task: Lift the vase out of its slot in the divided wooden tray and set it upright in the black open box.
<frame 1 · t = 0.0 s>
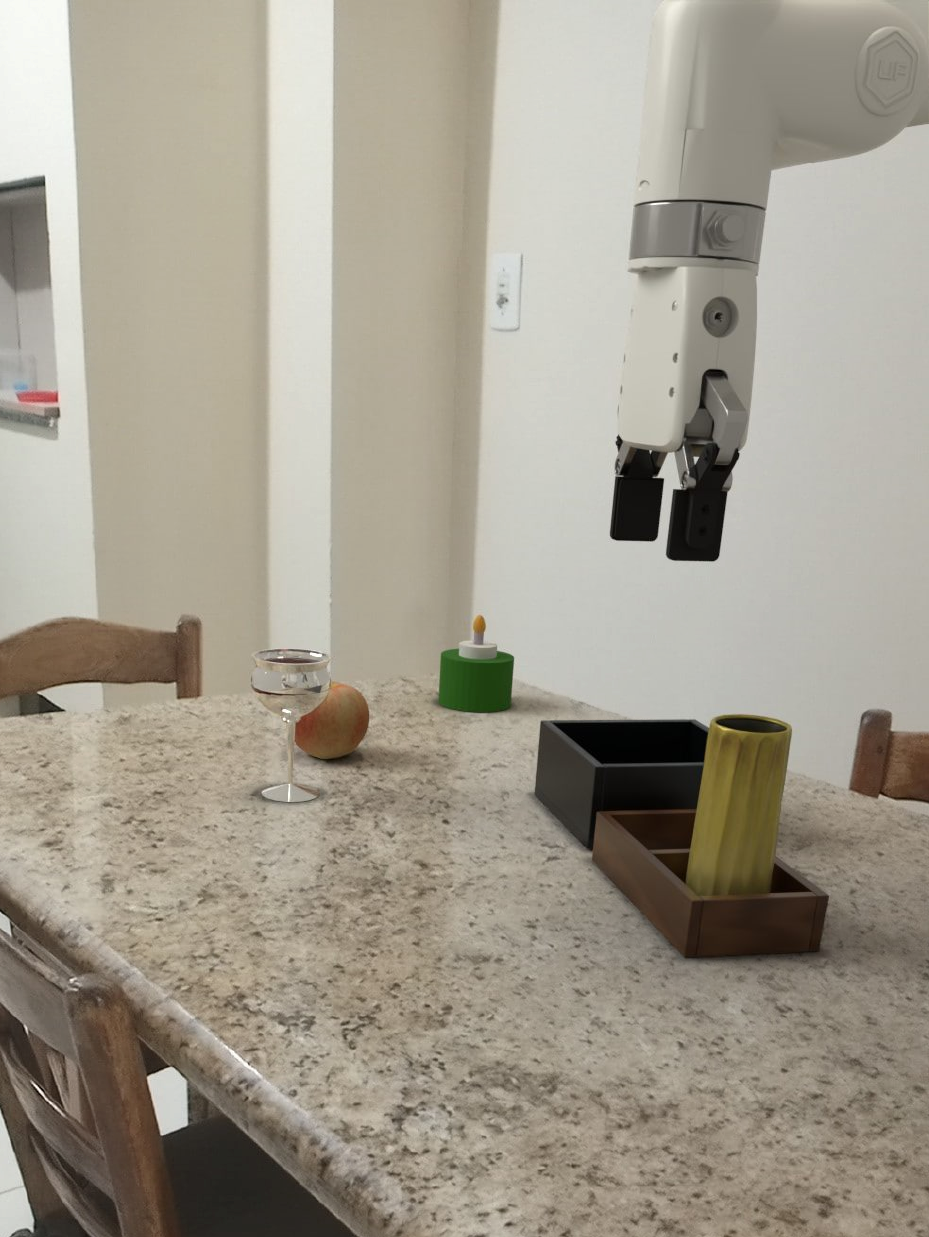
hand: (661, 549, 82), 25 cm above the table, tool pointing down, fingers open, 9 cm apart
wineglass: (290, 795, 113), on the table
divided wooden tray: (696, 902, 93), on the table
vase: (721, 928, 89), resting in divided wooden tray
apple: (327, 757, 125), on the table
black open box: (640, 818, 111), on the table
candle: (474, 705, 148), on the table
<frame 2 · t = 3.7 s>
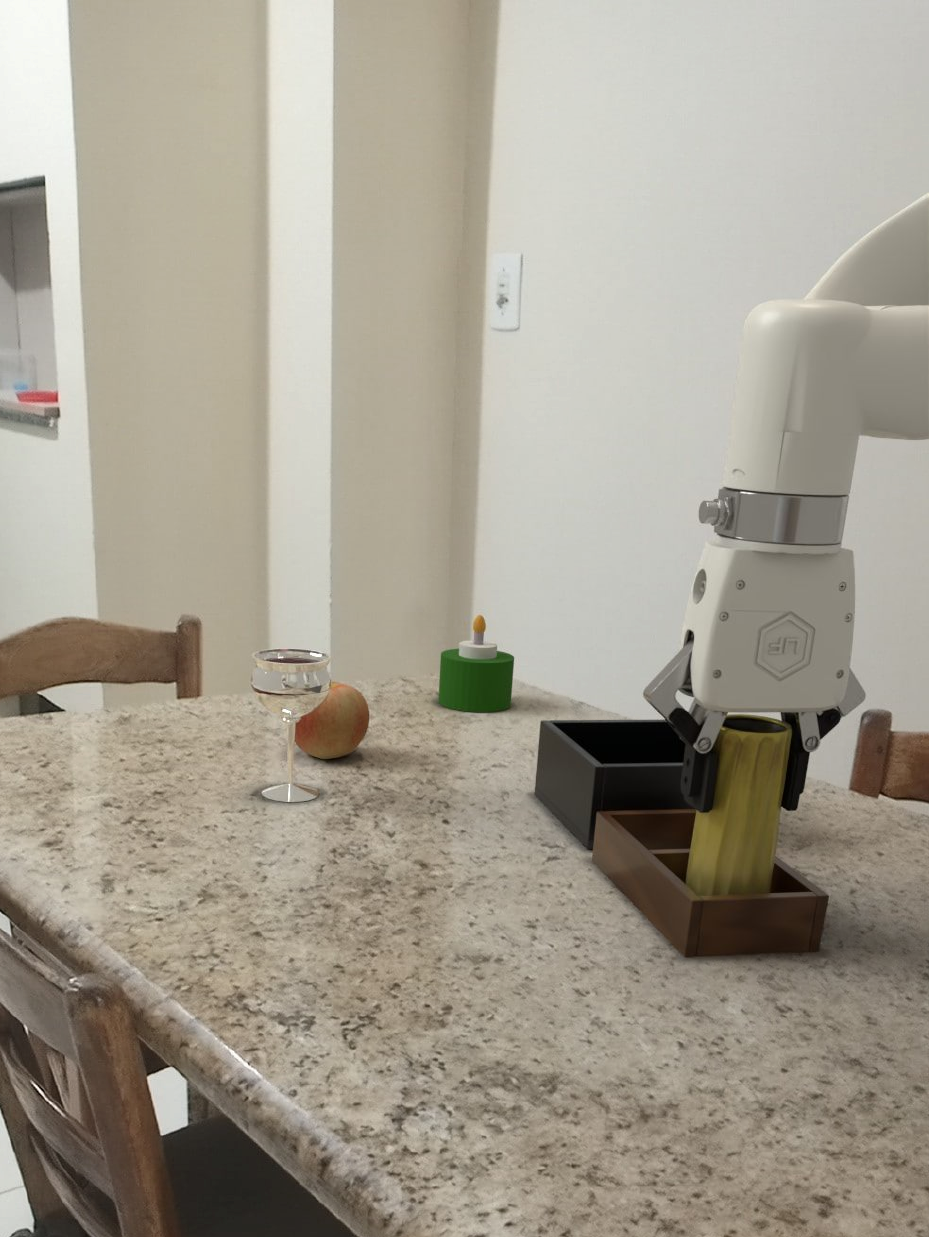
hand: (740, 803, 86), 9 cm above the table, tool pointing down, fingers closed on vase, 5 cm apart
vase: (721, 928, 89), resting in divided wooden tray, touching gripper
everything else where it was.
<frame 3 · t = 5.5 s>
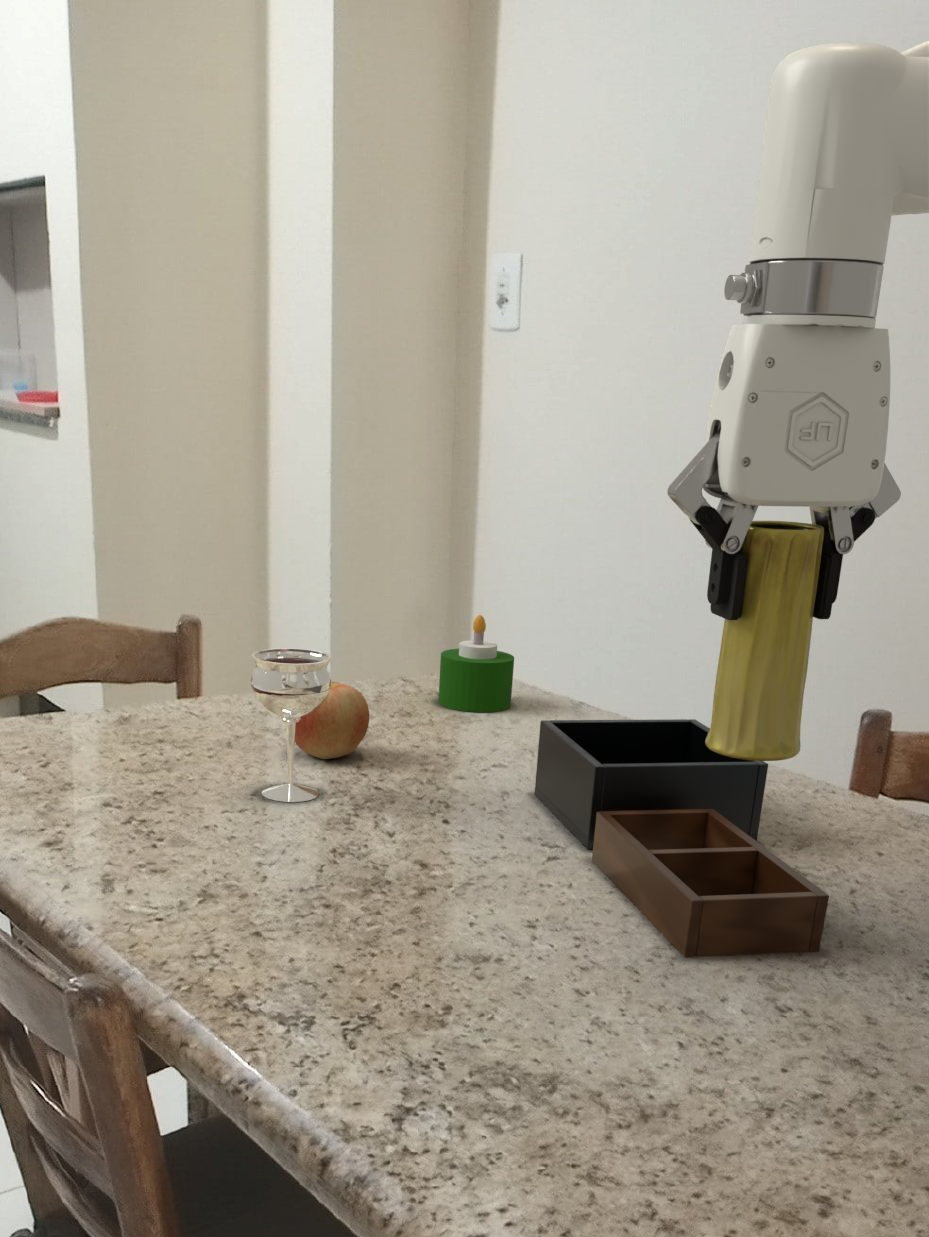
hand: (769, 613, 82), 21 cm above the table, tool pointing down, fingers closed on vase, 5 cm apart
vase: (751, 752, 86), point 12 cm above the table, touching gripper
everything else where it was.
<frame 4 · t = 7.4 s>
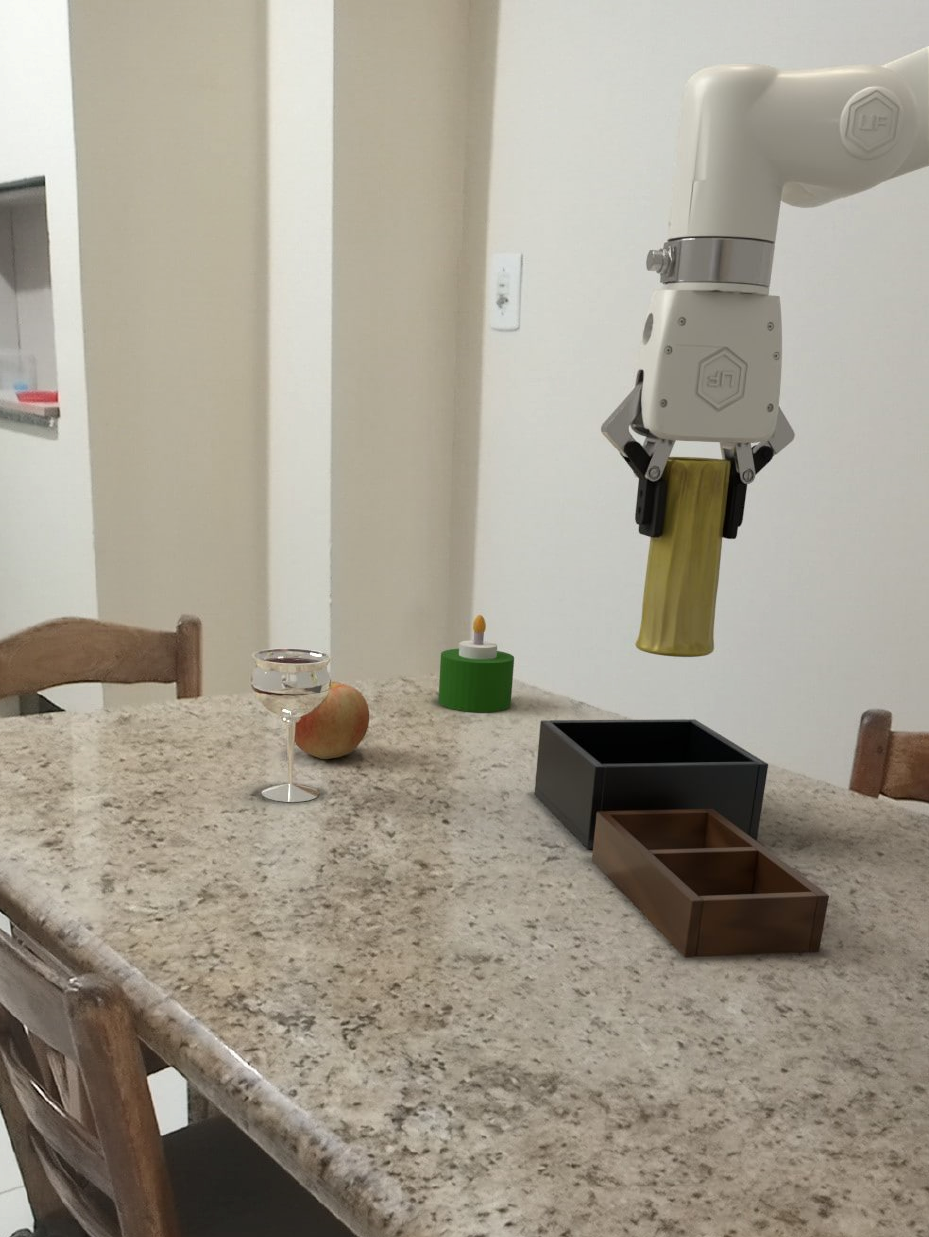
hand: (687, 533, 99), 24 cm above the table, tool pointing down, fingers closed on vase, 5 cm apart
vase: (673, 652, 102), point 15 cm above the table, touching gripper
everything else where it was.
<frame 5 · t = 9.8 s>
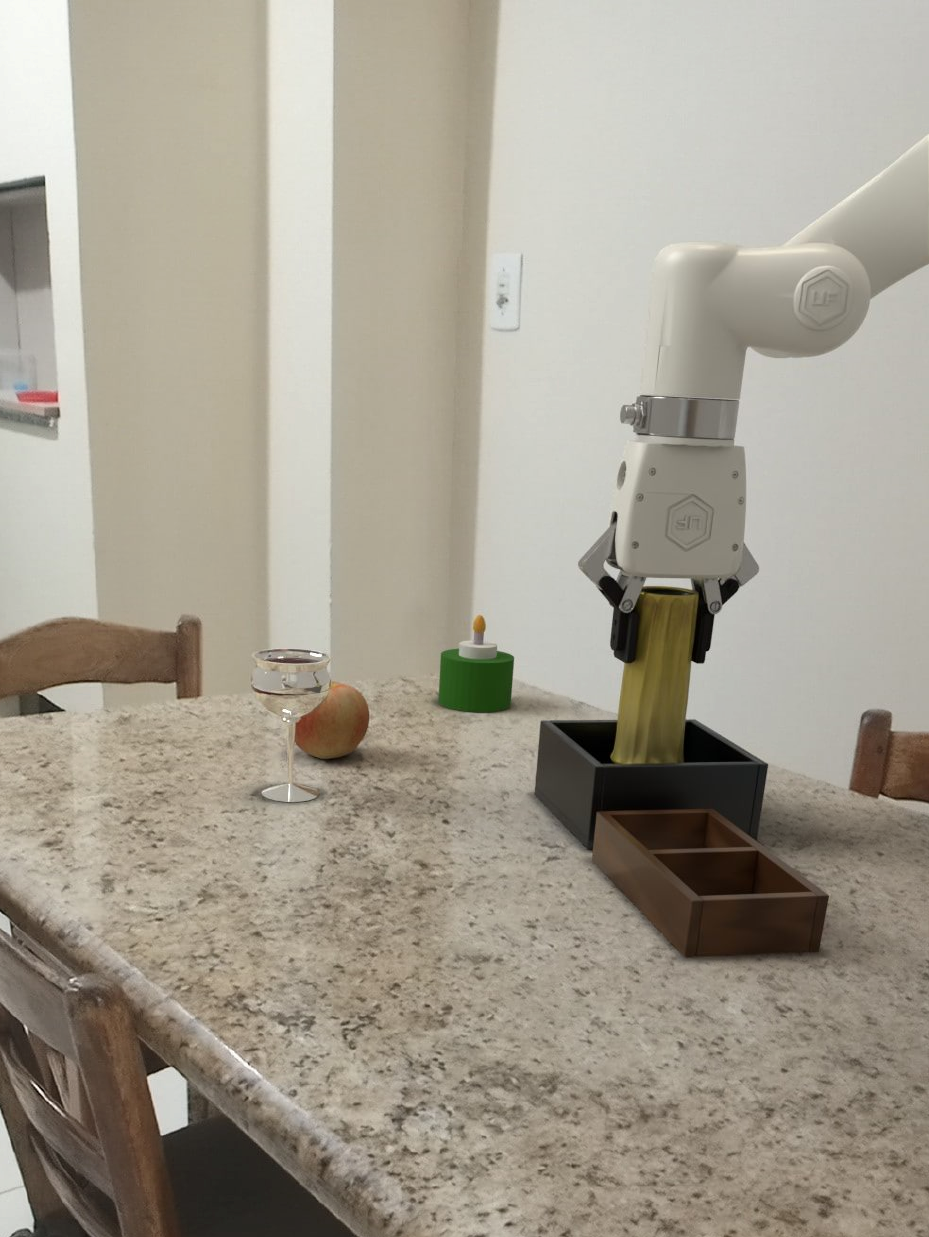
hand: (658, 657, 106), 14 cm above the table, tool pointing down, fingers closed on vase, 5 cm apart
vase: (646, 765, 109), point 5 cm above the table, touching gripper
everything else where it was.
when the fingers open (10 cm above the table, at t = 11.3 s): vase stays where it is, resting on black open box.
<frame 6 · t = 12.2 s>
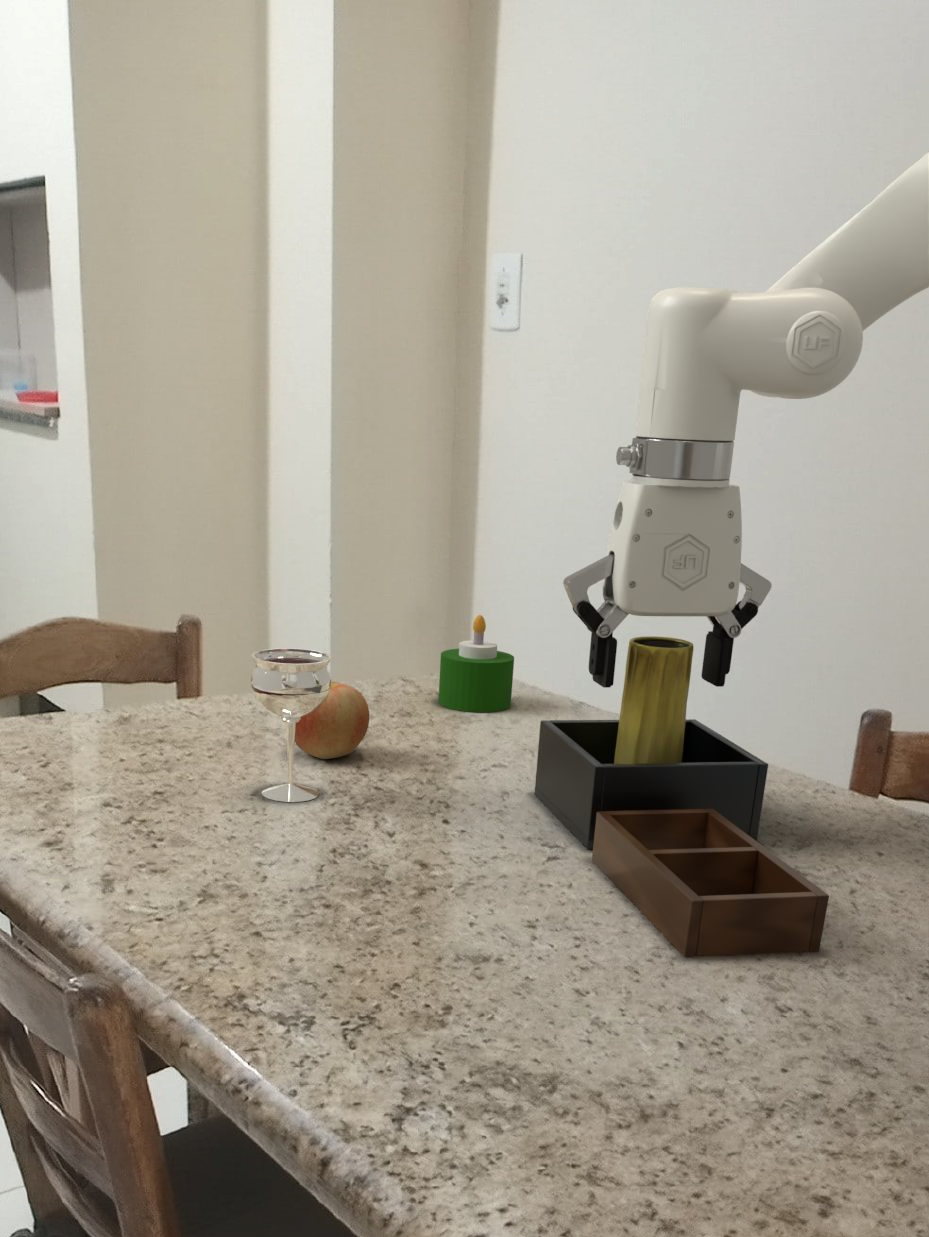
hand: (657, 683, 107), 12 cm above the table, tool pointing down, fingers open, 9 cm apart
vase: (642, 811, 111), point 1 cm above the table, touching black open box
everything else where it was.
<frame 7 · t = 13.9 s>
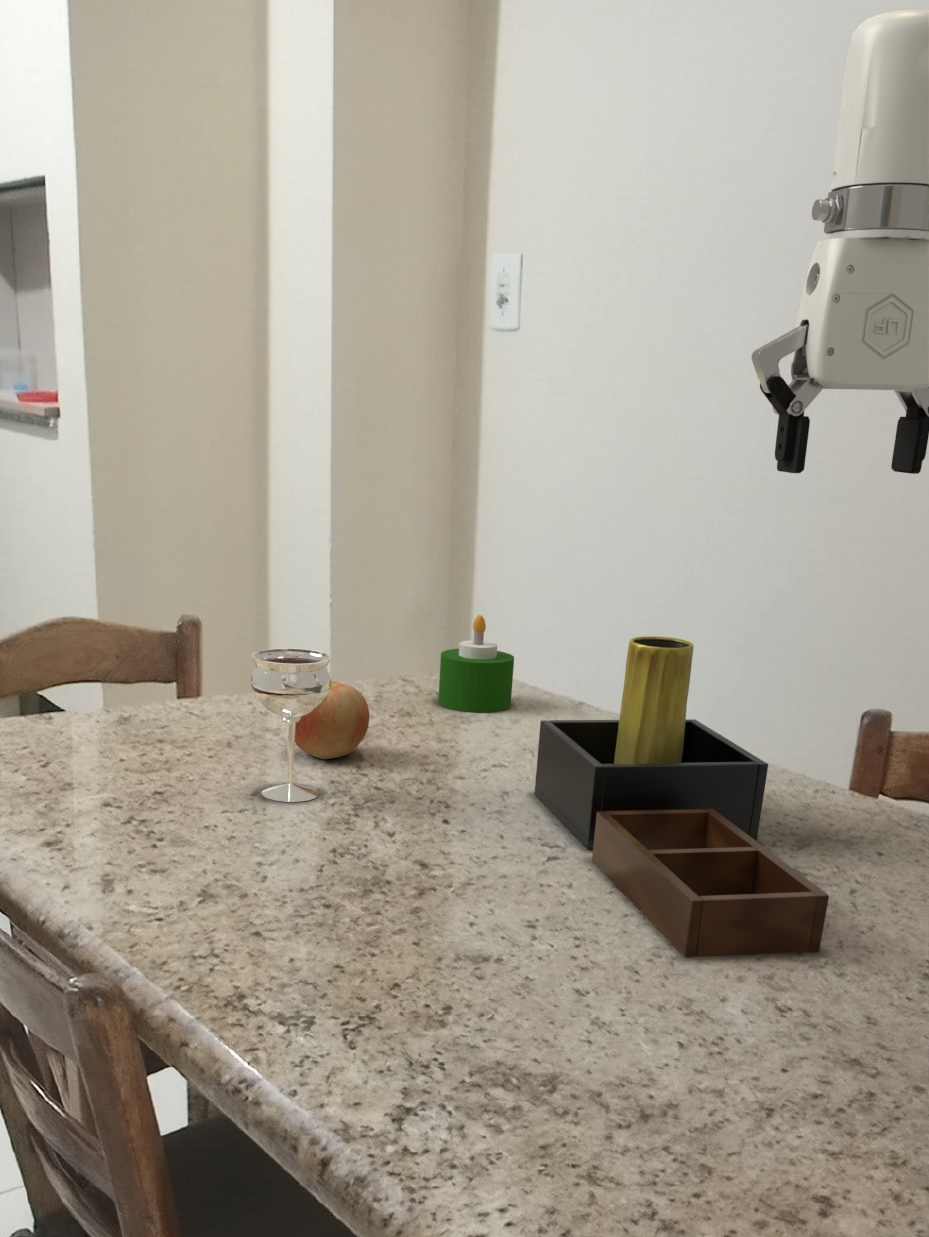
hand: (848, 472, 99), 29 cm above the table, tool pointing down, fingers open, 9 cm apart
nothing on the table moved.
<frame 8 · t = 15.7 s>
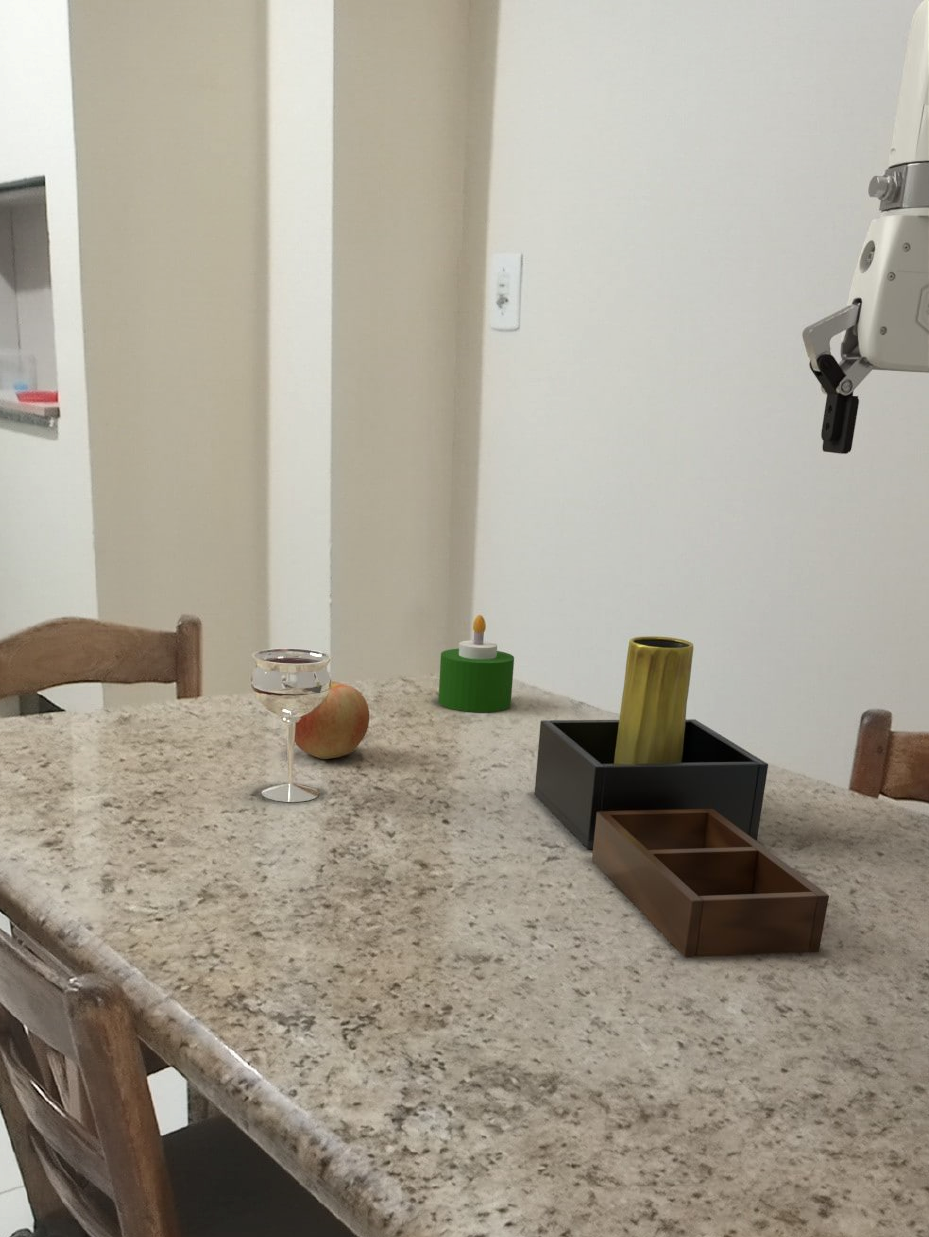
hand: (893, 454, 98), 30 cm above the table, tool pointing down, fingers open, 9 cm apart
nothing on the table moved.
at the end: vase inside the target area in the black open box (0.1 cm from its centre), point 0.6 cm above the black open box's base; vase tilted 0° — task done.
